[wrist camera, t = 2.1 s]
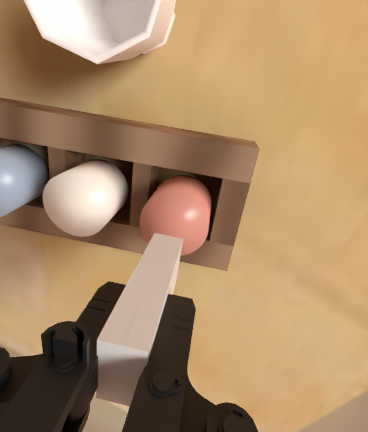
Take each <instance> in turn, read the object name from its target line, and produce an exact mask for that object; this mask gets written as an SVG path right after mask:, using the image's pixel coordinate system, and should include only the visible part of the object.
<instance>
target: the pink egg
mask: <svg viewBox="0 0 368 432" xmlns="http://www.w3.org/2000/svg"><path fill="white" fill-rule="evenodd" d="M210 213H211V196H210V193H209V191H208V189H207V188H206V186H205V185H204V184H203V183H202V182H201V181H199V180H198V179H196V178H194V177H191V176H188V175H175V176H172V177H169V178H167V179H166V180H164V181H163V182H162V183H161V184H160V185H159V187H158V188H157V190H156V191H155V192H154V194H153V195H152V196H151V198H150V199H149V201H148V202H147V203H146V205H145V206H144V208H143V209H142V211H141V215H140V229H141V232H142V235H143V237H144V238H145V240H146V241H147V242H148V243H149V242H150V240H151V238H152V237H153V235H154V233H158V234H163V235H167V236H172V237H177V238H182V239H183V243H182V249H181V255H180V256H182V255H187V254H190V253H192V252H194V251H196V250H197V249H198V248H200V247H201V245H202V244H203V243H204V241H205V240H206V238H207V235H208V229H209V221H210Z"/></svg>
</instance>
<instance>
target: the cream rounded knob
mask: <svg viewBox="0 0 368 432" xmlns="http://www.w3.org/2000/svg"><path fill="white" fill-rule="evenodd" d="M127 198H128V184H127V181H126V178H125V177H124V175H123V173H122V172H121V171H120V170H119V169H118V168H117V167H116V166H115V165H113V164H112V163H110V162H108V161H105V160H100V159H93V160H89V161H86V162H84V163H82V164H80V165H78V166H76V167H74V168H71V169H69V170H67V171H65V172H63V173H61V174H59V175H57V176H55V177H53V178H52V179H50V180H49V181H48V183H47V184H46V186H45V188H44V191H43V205H44V208H45V211H46V213H47V215H48V216H49V218H50V219H51V221H52V222H53V223H54V224H55V225H56V226H57V227H58V228H60V229H61V230H63V231H64V232H66V233H68V234H71V235H74V236H79V237H86V236H91V235H94V234H96V233H98V232H99V231H100V230H101V229H102V228H103V227H104V226H105V225H106V224H107V223H108V222H109V221H110V219H111V218H112V217H113V216H114V215H115V214H116V213H117V212H118V211H119V210H120V209H121V208H122V206H123V205H124V204H125V202H126V200H127Z"/></svg>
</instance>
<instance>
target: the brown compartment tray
mask: <svg viewBox="0 0 368 432" xmlns="http://www.w3.org/2000/svg"><path fill="white" fill-rule="evenodd" d="M13 140H15V141H21V142H26V143H32V144H37V145H43V146H48V158H49V171H50V179H52V178H53V177H55V176H57V175H59V174H61V173H63V172H65V171H67V170H69V169H71V168H74V167H76V166H78V165H80V164H82V163H84V162H85V156H84V153H87V154H92V155H98V156H103V157H108V158H114V159H119V160H125V161H130V162H133V177H132V193H131V209H128V208H123V207H122V208H121V209H120V210H119V211H118V212H117V213H116V214H115V215H114V216H113V217H112V218H111V219H110V221H109V222H108V223H107V224H106V225H105V226H104V227H103V228H102V229H101V230H100V231H99V232H98V233H96V234H94V235H91V236H86V237H79V236H74V235H71V234H68V233H66V232H64V231H63V230H61V229H60V228H58V227H57V226H56V225H55V224H54V223H53V222H52V221H51V219H50V218H49V216H48V215H47V213H46V211H45V208H44V205H43V195H41V196H39V197H38V198H36V199H34V200H32V201H30V202H28V203H27V204H25V205H23V206H21V207H19V208H17V209H15V210H14V211H12V212H10V213H8V214H6V215H4V216H2V217H0V224H1V225H6V226H11V227H16V228H20V229H25V230H30V231H35V232H40V233H45V234H50V235H54V236H59V237H64V238H69V239H74V240H79V241H84V242H88V243H93V244H98V245H103V246H108V247H113V248H118V249H122V250H127V251H132V252H137V253H142V254H143V253H144V251H145V249H146V248H147V246H148V244H149V243H148V242H147V241H146V240H145V238H144V237H143V235H142V232H141V229H140V215H141V211H142V209H143V208H144V206H145V205H146V203H147V202H148V201H149V199H150V198H151V196H152V195H153V194H154V192H155V191H156V190H157V183H158V174H159V167H163V168H169V169H174V170H180V171H185V172H191V173H196V174H201V175H207V176H212V177H218V178H221V182H220V186H219V191H218V195H217V200H216V205H215V209H214V214H213V219H212V223H211V225H210V224H209V229H208V235H207V238H206V240H205V241H204V243H203V244H202V245H201V247H200V248H198V249H197V250H196V251H194V252H192V253H190V254H187V255H182V256H180V261H181V262H186V263H190V264H195V265H200V266H205V267H210V268H215V269H220V270H224V271H227V268H228V265H229V261H230V257H231V254H232V250H233V246H234V242H235V239H236V235H237V231H238V227H239V224H240V220H241V216H242V212H243V209H244V205H245V201H246V198H247V194H248V190H249V186H250V183H251V179H252V175H253V171H254V168H255V164H256V160H257V156H258V153H259V147H258V146H257V144H256V143H255V142H254V141H248V140H242V139H237V138H231V137H225V136H219V135H213V134H208V133H202V132H196V131H190V130H184V129H179V128H173V127H167V126H161V125H155V124H149V123H144V122H138V121H132V120H126V119H120V118H115V117H109V116H103V115H97V114H91V113H86V112H80V111H74V110H68V109H62V108H57V107H51V106H45V105H39V104H33V103H27V102H22V101H16V100H10V99H4V98H0V147H3V146H7V145H12V144H13Z"/></svg>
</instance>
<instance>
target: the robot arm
mask: <svg viewBox="0 0 368 432" xmlns="http://www.w3.org/2000/svg"><path fill="white" fill-rule="evenodd" d="M182 243H183V239H182V238H177V237H172V236H167V235H163V234H158V233H154V235H153V237H152V238H151V240H150V242H149V244H148V246H147V248H146V249H145V251H144V253H143V255H142V257H141V259H140V261H139V262H138V264H137V266H136V268H135V270H134V272H133V274H132V275H131V277H130V279H129V281H128V283H127V285H123V284H119V283H114V282H110V281H109V282H107V283H106V284H104V285H103V286H101V287H100V288H98V290H97V291H96V293H95V294H94V296H93V297H92V300H90V302H89V303H88V305H87V307H86V308H85V309H84V311H83V312H82V314H81V315H80V317H79V318H78V320H77V321H76V322H72V321H66V322H61V323H57V324H55V325H53V326H51V327H49V328H48V329H47V330H46V331H45V332H44V333H42V334H41V339H42V348H43V354H40V355H34V356H22V357H10V355H9V353H8V352H7V351H6V350H5V348H1V347H0V432H82V430H83V428H84V426H85V424H86V421H87V419H88V415H89V411H90V402H91V400H92V398H93V396H94V393H95V391H96V397H97V398H99V399H103V400H107V401H111V402H115V403H119V404H123V405H127V406H130V408H129V411H128V414H127V417H126V421H125V424H124V427H123V430H122V432H258V430H257V428H256V426H255V423H254V421H253V419H252V418H251V417H250V415H249V414H248V413H247V412H246V411H245V410H244V409H243V408H241V407H239V406H238V405H236V404H233V403H228V402H225V403H221V404H217V405H214V404H213V403H211V402H210V401H208V400H207V399H205V398H204V397H202V396H201V395H200V394H199V393H197V392H196V390H195V389H194V388H193V387H192V385H191V383H190V381H189V378H188V374H187V365H188V358H189V351H190V344H191V338H192V330H193V324H194V317H195V310H196V309H195V306H194V303H193V300H192V299H190V298H186V297H181V296H177V295H172V294H173V291H174V287H175V284H176V279H177V273H178V267H179V261H180V255H181V249H182ZM96 389H97V390H96Z"/></svg>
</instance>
